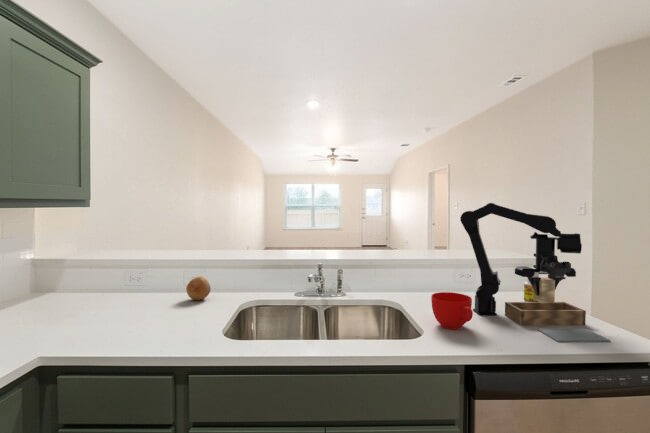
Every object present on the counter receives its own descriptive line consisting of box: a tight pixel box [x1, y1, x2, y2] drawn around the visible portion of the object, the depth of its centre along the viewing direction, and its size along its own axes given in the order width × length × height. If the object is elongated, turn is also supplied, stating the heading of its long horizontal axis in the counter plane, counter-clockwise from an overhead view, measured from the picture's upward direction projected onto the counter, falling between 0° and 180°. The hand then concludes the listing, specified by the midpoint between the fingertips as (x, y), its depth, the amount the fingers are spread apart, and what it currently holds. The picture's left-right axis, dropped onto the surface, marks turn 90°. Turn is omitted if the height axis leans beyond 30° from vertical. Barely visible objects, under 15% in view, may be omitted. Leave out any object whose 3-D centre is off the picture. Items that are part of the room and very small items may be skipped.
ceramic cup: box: [430, 291, 473, 330], centre depth 122 cm, size 13×17×10 cm
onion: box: [185, 275, 211, 302], centre depth 157 cm, size 10×10×10 cm
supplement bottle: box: [523, 277, 538, 302], centre depth 152 cm, size 6×6×10 cm
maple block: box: [534, 277, 556, 303], centre depth 129 cm, size 4×4×8 cm
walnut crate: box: [504, 301, 587, 327], centre depth 129 cm, size 22×11×5 cm, turn 91°
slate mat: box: [537, 327, 611, 343], centre depth 115 cm, size 16×10×1 cm, turn 91°
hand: (544, 295), depth 129 cm, fingers closed on maple block, 4 cm apart
